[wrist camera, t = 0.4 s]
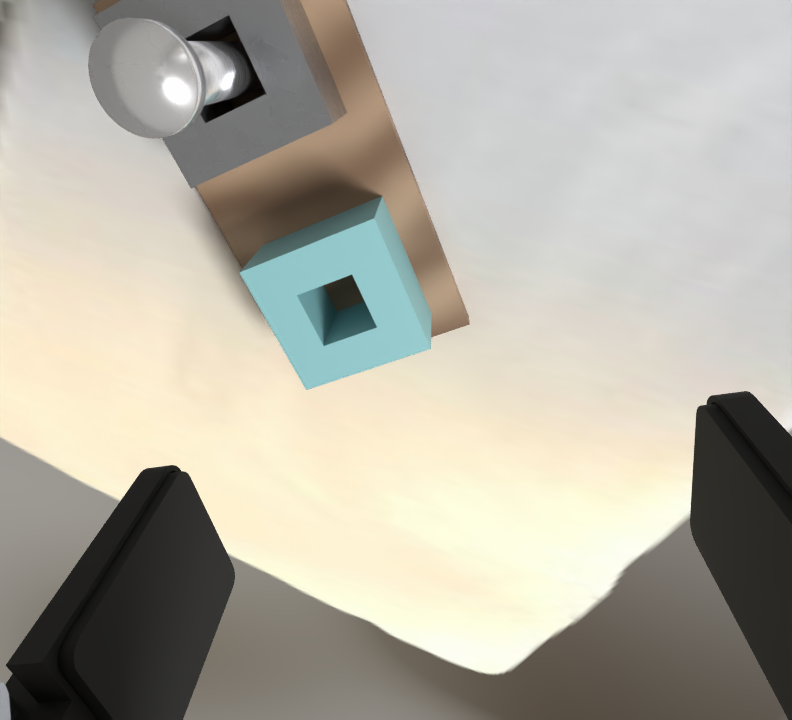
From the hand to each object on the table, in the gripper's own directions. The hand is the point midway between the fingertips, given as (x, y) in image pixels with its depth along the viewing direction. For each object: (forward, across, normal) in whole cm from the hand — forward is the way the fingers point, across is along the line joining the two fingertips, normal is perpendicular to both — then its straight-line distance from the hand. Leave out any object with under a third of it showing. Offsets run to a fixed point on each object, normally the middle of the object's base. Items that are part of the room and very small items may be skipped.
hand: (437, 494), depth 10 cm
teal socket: (+33, +8, +7) cm, 35 cm away
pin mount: (+33, +11, -9) cm, 36 cm away
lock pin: (+33, +11, -9) cm, 36 cm away
